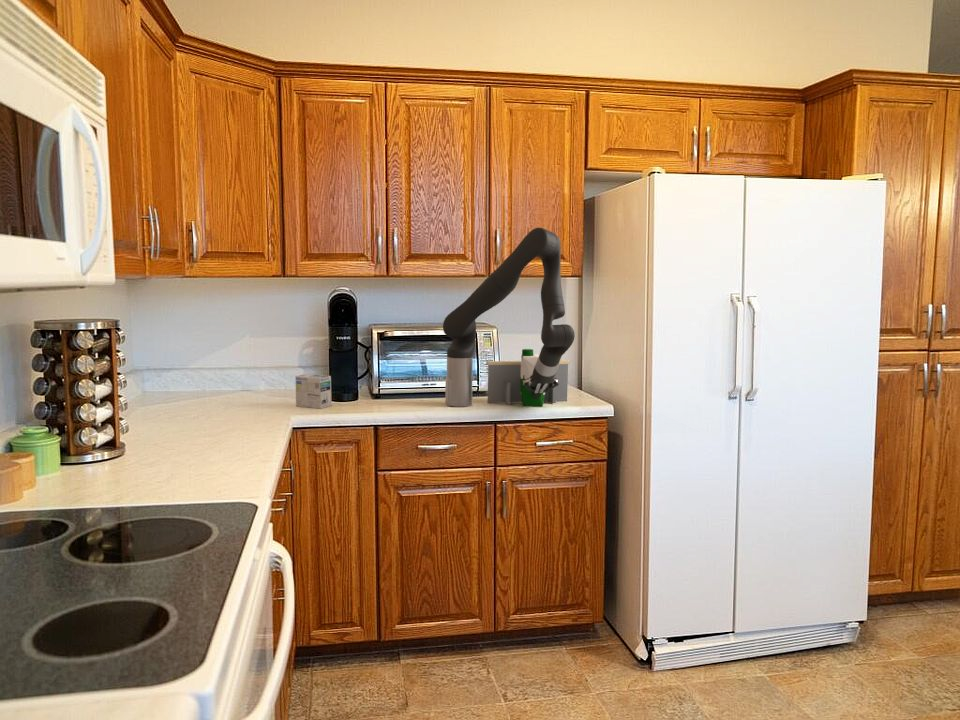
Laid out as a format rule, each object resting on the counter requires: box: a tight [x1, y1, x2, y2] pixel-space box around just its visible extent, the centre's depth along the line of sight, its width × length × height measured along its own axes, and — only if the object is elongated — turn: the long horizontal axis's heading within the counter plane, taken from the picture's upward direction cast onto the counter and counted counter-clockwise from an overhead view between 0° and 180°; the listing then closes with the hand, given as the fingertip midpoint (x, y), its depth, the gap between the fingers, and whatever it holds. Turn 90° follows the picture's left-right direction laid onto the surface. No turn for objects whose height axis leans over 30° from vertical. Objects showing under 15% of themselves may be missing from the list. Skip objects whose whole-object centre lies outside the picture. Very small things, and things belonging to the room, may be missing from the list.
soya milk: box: [520, 348, 545, 408], centre depth 262 cm, size 9×9×20 cm
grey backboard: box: [485, 359, 570, 406], centre depth 266 cm, size 31×7×15 cm, turn 102°
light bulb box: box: [295, 373, 332, 410], centre depth 254 cm, size 11×7×11 cm, turn 68°
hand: (535, 396), depth 258 cm, fingers closed
